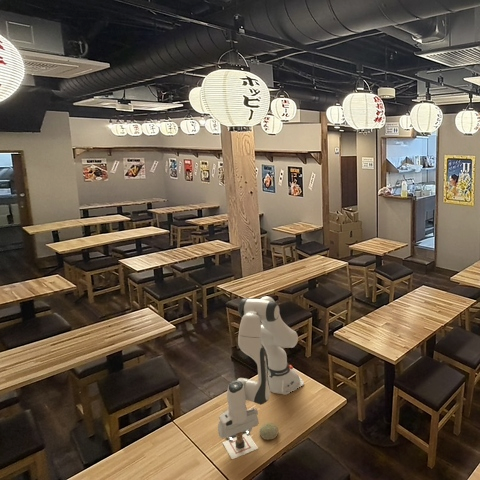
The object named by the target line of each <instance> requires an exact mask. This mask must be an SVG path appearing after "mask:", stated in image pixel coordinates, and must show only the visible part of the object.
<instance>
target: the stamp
mask: <svg viewBox="0 0 480 480" xmlns="http://www.w3.org/2000/svg"><path fill="white" fill-rule="evenodd" d="M243 434H244V433H243V431H242V432H240V433H237V434H236V436H235V437H237V440H236V442H235V443H236V447H237V448H238V449H242V448H244V446H245V442H244V440H243Z"/></svg>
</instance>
